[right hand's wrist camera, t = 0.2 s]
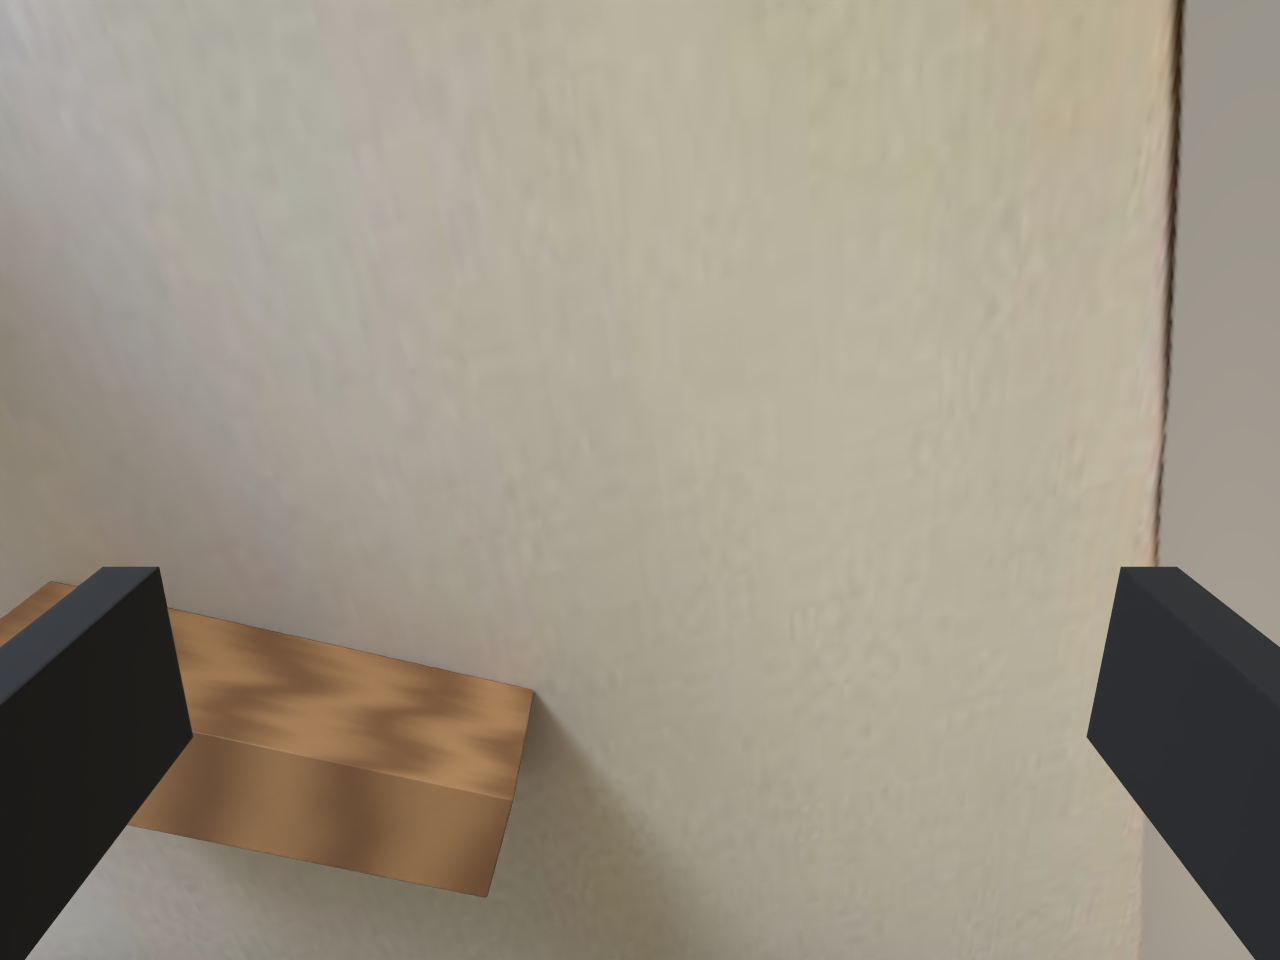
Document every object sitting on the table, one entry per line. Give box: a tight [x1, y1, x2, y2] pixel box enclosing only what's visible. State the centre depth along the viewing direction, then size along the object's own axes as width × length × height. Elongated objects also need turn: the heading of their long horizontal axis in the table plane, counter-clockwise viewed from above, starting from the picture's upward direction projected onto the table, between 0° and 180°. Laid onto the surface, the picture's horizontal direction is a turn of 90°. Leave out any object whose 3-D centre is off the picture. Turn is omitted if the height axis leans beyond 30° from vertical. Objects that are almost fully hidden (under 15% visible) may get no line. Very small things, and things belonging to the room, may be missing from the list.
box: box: [0, 581, 534, 898], centre depth 43 cm, size 25×6×8 cm, turn 75°
